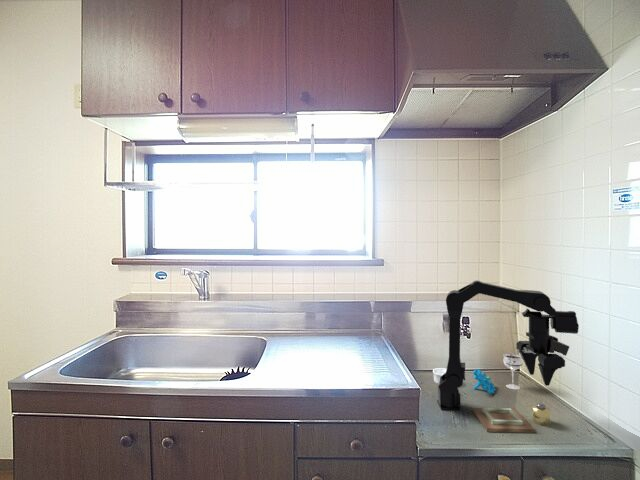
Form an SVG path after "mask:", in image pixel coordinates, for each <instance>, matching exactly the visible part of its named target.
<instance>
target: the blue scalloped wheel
mask: <svg viewBox="0 0 640 480" xmlns="http://www.w3.org/2000/svg"><path fill="white" fill-rule="evenodd" d="M472 374H473V375H474V376H473V377H474V378H473V379H475V380H476V381H477V382H476V383H477V384H476V385H474V386H473V389H474V390H477V389H478V388H480V387H481V389H482V390H483V391H486V393H488V394H495V392H496V388H495V387H494V386H495V384H494V383H493V382H491V376H487V374H486V373H485V372H482V370H481V369H477V368H475V369H474V370H473V371H472ZM486 376H487V377H486Z"/></svg>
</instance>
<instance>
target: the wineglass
mask: <svg viewBox="0 0 640 480" xmlns="http://www.w3.org/2000/svg"><path fill="white" fill-rule="evenodd" d="M502 360H503V361H502V363H503V364H504V366H505V367H506V368H507V369H510V371H511V378H512V380H511V381H512V383H509V384H506V385H505V387H506V388H508V389H510V390H520V389H521V387H520V386H519V385H517V384H514V381H515V380H514V379H515V371H516V370H519V369H520V368H521V367H522V366H523V365H524V361H523V359H522V357H521V355H520V354H517V353H511V352H510V353H503V359H502Z"/></svg>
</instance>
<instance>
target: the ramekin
mask: <svg viewBox="0 0 640 480" xmlns="http://www.w3.org/2000/svg"><path fill="white" fill-rule="evenodd" d="M446 369H447V367H446V368H445V367H438V368H437V367H436V368H433V370H432V373H433V382H434V383H435V384H437V385H439V382H440V377H441V376H442V375H443V374H445V373H446Z"/></svg>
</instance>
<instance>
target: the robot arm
mask: <svg viewBox="0 0 640 480" xmlns="http://www.w3.org/2000/svg"><path fill="white" fill-rule="evenodd" d="M479 294H480V295H485V296H489V297H493V298H497V299H502V300H507V301H510V302H515V303H517V304H520V305H522V306H524V307H527V308H526V309H525V310H524V311H523V312H522V313H521V315H522V317H523V318H528V331H527V332H525V336H527V337H528V340H518V341H517V342H516V344H515V345H516V350H518V353H519V355H521V357H522V362H523V364H524V365H525V367H526V369H527V370H528V373H529V375H531V376H533V375H534V374H535V369H536V362H537V361H538V363H537V365H538V368H539V371H540V375H541V377H542V380H543V381H542V382H543V384H544V385H545V386H550V384H551V381H552V379H553V377H554V374H555V372H556V371H557V370H558V369H562V368H565V367H566V360H565V358H564V357H562V356H565V357H566V356H567V355H568V351H569V350H570V345H568V344H565V343H563V342H561V341H559V338H558V337H555V336H553V335H550V328H551V329H552V330H554V332H555V333H561V334H575V335H577V334H578V333H579V327H580V326H579V322H578V318H577V313H576V311H574V310H568V311H563V310H560V311H559V310H556V309H555V308H554V306H552V305H551V303H552V302H551V299H550V297H549V296H548V295H547V294H546V293H544V292H543V291H540V290H529V289H528V290H527V289H525V290H524V289H514V288H510V287H506V286H501V285H497V284H492V283H488V282H483V281H481V280H473V281H472V282H471V283H469V284H467V285H466V286H463V287H461V288H460V289H458V290H456V289H454V290H451V291H449V292H448V293H447V294H446V298H445V305H446V310H447V314H448V319H449V320H448V321H449V323H448V325H449V327H448V338H449V339H448V360H447V365H446V373H445V374H443V375H442V376H441V377H440V382H439V384H438V386H437V393H438V394H437V395H438V396H437V397H438V398H437V400H436V402H437V405H438V406H439V408H440V410H443V411H445V410H447V411H450V410H454V411H461V393H460V391H459V390H460V389H459V388H460V387H461V386H462V385H463V384H464V381H466V372H465V371H466V362H462V361H461V318H462V314H463V309H464V304H465V303H466V302H468V301H469V300H471V299H473V298H474V297H476V296H477V295H479ZM530 309H531V310H533V311H531V310H530ZM542 312H544V313H545V314H542ZM555 352H557V353H555ZM559 354H561V355H562V356H561V355H559Z"/></svg>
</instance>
